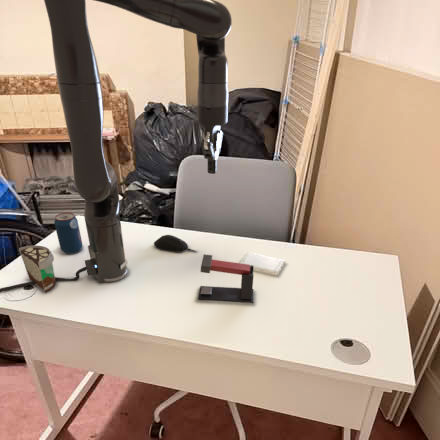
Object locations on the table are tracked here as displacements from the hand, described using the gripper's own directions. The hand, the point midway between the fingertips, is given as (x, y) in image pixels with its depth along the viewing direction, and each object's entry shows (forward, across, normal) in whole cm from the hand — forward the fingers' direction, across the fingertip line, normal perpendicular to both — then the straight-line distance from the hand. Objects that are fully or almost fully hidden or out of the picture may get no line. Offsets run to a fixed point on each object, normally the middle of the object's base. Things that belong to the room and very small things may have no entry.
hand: (212, 172), depth 107 cm
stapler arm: (+20, +16, +8) cm, 27 cm away
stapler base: (+29, +15, +9) cm, 34 cm away
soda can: (+29, +4, -46) cm, 55 cm away
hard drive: (+29, -4, +15) cm, 33 cm away
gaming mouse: (+29, -7, -15) cm, 34 cm away
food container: (+29, +23, -43) cm, 57 cm away
